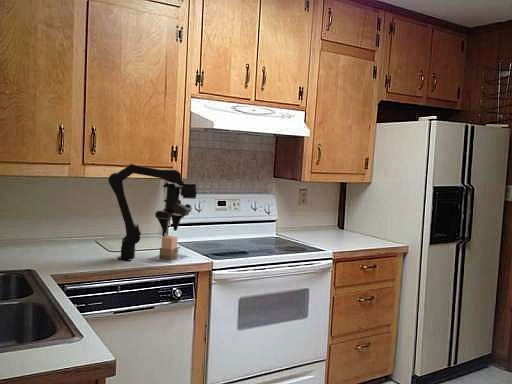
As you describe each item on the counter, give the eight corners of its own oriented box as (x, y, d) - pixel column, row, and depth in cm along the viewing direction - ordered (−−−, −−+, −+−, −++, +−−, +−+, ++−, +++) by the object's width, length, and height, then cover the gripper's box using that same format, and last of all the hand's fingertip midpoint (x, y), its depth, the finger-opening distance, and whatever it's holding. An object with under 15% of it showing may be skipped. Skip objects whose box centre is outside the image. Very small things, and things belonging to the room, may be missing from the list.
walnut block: (171, 260, 219) (171, 249, 219) (159, 258, 221) (159, 248, 221) (177, 258, 225) (178, 247, 224) (165, 256, 227) (166, 245, 226)
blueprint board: (170, 264, 215) (170, 263, 215) (146, 260, 219) (146, 259, 219) (189, 257, 232) (189, 255, 232) (167, 253, 236) (167, 252, 236)
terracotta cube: (171, 249, 219) (171, 238, 219) (161, 248, 221) (162, 237, 221) (176, 247, 224) (177, 237, 224) (167, 246, 226) (167, 235, 225)
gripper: (178, 201, 209) (176, 237, 211) (197, 198, 227) (195, 231, 228) (155, 198, 213) (153, 233, 214) (176, 195, 230) (174, 228, 232)
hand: (170, 231), depth 222 cm, fingers open, 9 cm apart
